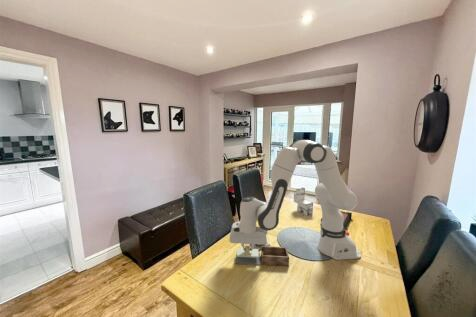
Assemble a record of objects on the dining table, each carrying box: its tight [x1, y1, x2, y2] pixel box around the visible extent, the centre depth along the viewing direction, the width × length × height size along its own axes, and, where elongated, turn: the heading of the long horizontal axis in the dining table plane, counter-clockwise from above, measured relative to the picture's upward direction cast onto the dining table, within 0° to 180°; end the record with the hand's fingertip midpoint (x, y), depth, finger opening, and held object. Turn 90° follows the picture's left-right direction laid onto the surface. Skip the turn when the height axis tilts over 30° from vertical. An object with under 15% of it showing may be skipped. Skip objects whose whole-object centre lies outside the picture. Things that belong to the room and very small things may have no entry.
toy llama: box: [293, 187, 314, 217], centre depth 168 cm, size 8×18×20 cm, turn 25°
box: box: [260, 245, 290, 267], centre depth 107 cm, size 14×9×5 cm, turn 85°
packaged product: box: [250, 242, 271, 252], centre depth 125 cm, size 18×5×10 cm
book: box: [320, 210, 353, 231], centre depth 152 cm, size 26×18×5 cm
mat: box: [235, 252, 261, 266], centre depth 109 cm, size 13×10×1 cm
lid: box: [236, 244, 259, 258], centre depth 108 cm, size 12×7×5 cm, turn 85°
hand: (247, 250), depth 108 cm, fingers closed on lid
